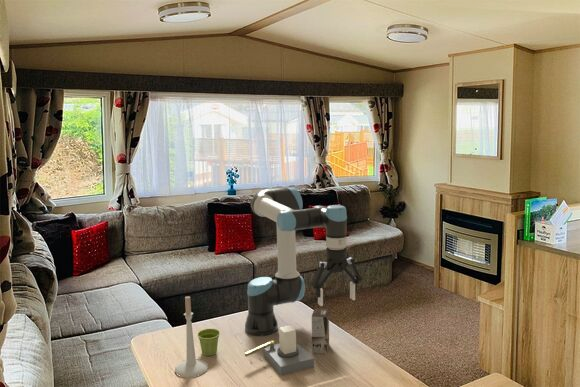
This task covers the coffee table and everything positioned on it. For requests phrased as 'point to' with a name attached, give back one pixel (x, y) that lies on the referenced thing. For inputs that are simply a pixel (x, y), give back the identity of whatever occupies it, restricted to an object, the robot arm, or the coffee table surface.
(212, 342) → the plant pot
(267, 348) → the socket
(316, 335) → the coffee box
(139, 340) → the coffee table surface
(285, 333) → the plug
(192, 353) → the candlestick
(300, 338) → the coffee table surface
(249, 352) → the tan long thin stick
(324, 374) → the coffee table surface
